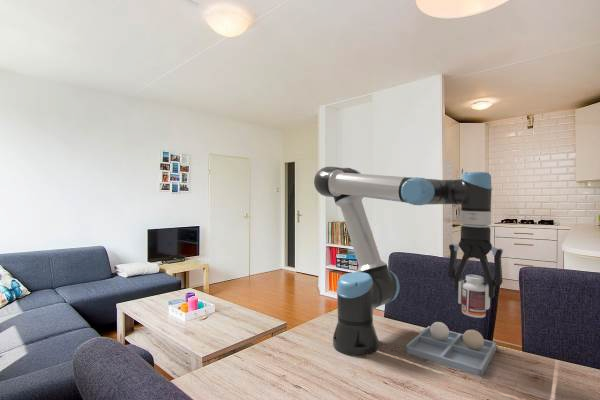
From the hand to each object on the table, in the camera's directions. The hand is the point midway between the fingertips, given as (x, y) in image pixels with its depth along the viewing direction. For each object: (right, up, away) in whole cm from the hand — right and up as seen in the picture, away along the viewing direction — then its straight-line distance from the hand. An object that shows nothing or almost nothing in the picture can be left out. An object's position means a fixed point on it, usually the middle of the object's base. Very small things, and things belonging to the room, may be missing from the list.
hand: (473, 305), depth 91 cm
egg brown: (+5, -17, +9) cm, 20 cm away
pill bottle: (0, -3, 0) cm, 3 cm away
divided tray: (-2, -18, +9) cm, 20 cm away
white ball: (-3, -17, +16) cm, 24 cm away
